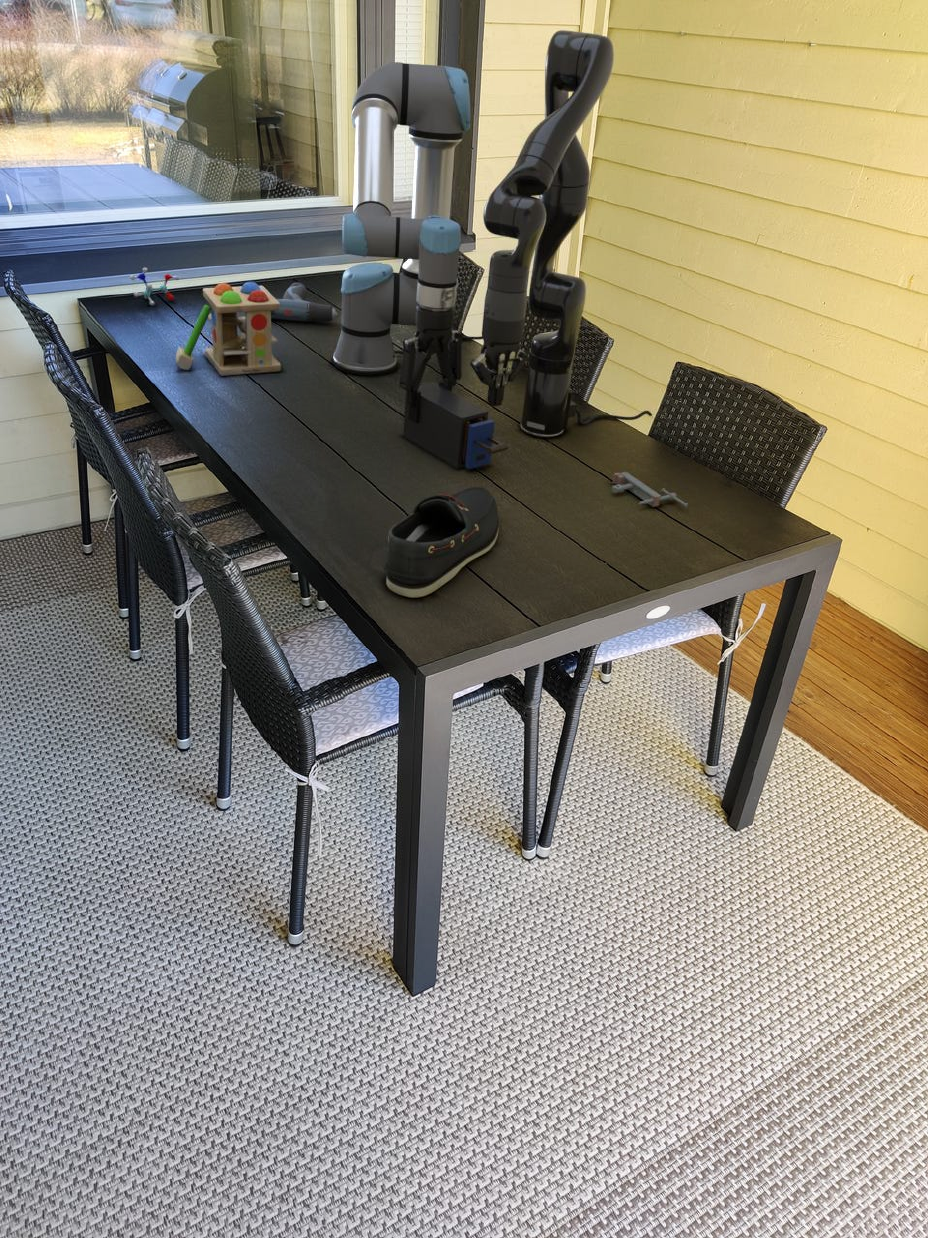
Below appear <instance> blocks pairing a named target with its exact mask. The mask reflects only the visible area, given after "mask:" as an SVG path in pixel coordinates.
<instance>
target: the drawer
mask: <svg viewBox="0 0 928 1238" xmlns="http://www.w3.org/2000/svg"><path fill="white" fill-rule="evenodd" d="M494 432H495V420H493V419H488V420H486V421H483V418H481V417H480V418H476V419H472V420H468V421H465V424H464V435H463V446H462V457H461V461H463V462H465V461H466V462H465V467H464V468H465V469H467V470H472V469H475V468H478V467H483V466H486V465H489V464H491V460H492V459H491V458H492V455H493V454H496V453H501V452H504V451H508V449H509V445H508V443H507V442H501V441H499V440H497V439H495V438H494ZM493 444H494V445H493Z"/></svg>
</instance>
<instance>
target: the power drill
mask: <svg viewBox="0 0 928 1238" xmlns="http://www.w3.org/2000/svg"><path fill="white" fill-rule="evenodd" d="M307 295H308V290H307V287H306V285H304V284H303V283H301V282H293V283H292V284H291V285H290V286H289V287H288V288H287V289H286V291H285V292H284V294H283V297H282V298H275V299H276V300H277V301H278V302H279V303H280V310H271V319H274V320H275V319H276V320H283V321H294V322H295V321H297V322H332V321H333V320H334V319H336V318H337V317H338V312H337V311H336V308H334V307H333V306H332V305H331V304H324V303H317V302H313V301H307V300H305V299H306V297H307Z"/></svg>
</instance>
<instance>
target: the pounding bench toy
mask: <svg viewBox="0 0 928 1238" xmlns="http://www.w3.org/2000/svg"><path fill="white" fill-rule="evenodd" d="M202 296H203V298H204V299H205V300H206V301H207V302H208V304H209V305H208V304H204V305H203V307H202V309H201V312H200V313H199V316H198V318H197V320H196V322H195V324H194V327H193V329H192V331H191V332H190V333H191V334H190V336H189V338H188V340H187V343H186V344H185V347H184V348H182V347H180V346H179V347H178V349H177V351H176V354H175V357H174V358H175V362H176V365H177V366H178V368H179V369H182V370H185V371H189V370H190V369H191V367H192V365H193V363H194V356H193V351H194V348H195V347H196V345H197V342H198V340H199V337H200V336H201V333H202V332H203V329H204V326H205V325H206V322H207V320H209V321H210V322H211V336H212V337H211V338H212V339H211V340H212V348H205V349H204V352H205V353H204V355H205V357H206V359H208V361H209V363H210V364H211V365H212V366H213V367H214V369H215V370H216V371H217V372H218V374H219V375H220V376H222V377H223V376H234V375H235V376H236V375H246V374H247V375H250V374H262V373H275V372H281V370H282V364H281V363H280V362H279V360H278V359H277V358H276V357H275V356H274V355H273V348H272V347H273V345H272V344H276V343H278V342H279V341H278V339H277V338H276V337H275V336H274V334H272V318H271V310H280V303H279V302H278V301H277V300H276V299H277V298H276V297H274V296H273V295H272V294H271V293H270V292H269V290H268V289H267V288H266V287H264V285H259V284H257V283H256V282H255V281H247V282H245V283H244V284H243V285H242V286H232V285H230V284H229V283H226V282H221V283H218V284H217V285H216V286H215V287H204V288H203V289H202ZM238 313H244V314H245V315H244V316H238ZM238 329H239V331H240V333H239V334H238Z"/></svg>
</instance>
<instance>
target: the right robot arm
mask: <svg viewBox="0 0 928 1238" xmlns="http://www.w3.org/2000/svg"><path fill="white" fill-rule="evenodd" d="M546 50H547V51H546V57H545V69H544V119H543V120H541V121H540V122H539V123H538V124H537V125H536V126H535V127H534V128H533V129H532V131H530V133H529V134H528V136H527V138H526V139H525V141H524V143H523V146H522V148H521V150H520V152H519V155H518V156H517V159H516V161H515V164H514V166H513V167H512V168H511V170H509V172H508V173H507V174H506V175H505V177H504V178H503V179H502V180H501V181H500V183H499V184H498V185H497V186H496V187H495V188H494V190H492V192H491V193H490V195H489V197H488V199H486V202H485V205H484V208H483V213H482V217H483V218H482V219H483V224H484V227H485V228H486V230H487V231H488V232H489V233H490V234H492V235H495V236H499V237H504V238H509V239H515V240H518V241H517V245H516V247H515V248H513V249H500V250H497V251H494V252H493V253H492V254H491V256H490V259H489V266H488V267H489V268H488V278H487V287H486V292H485V296H484V303H483V304H484V306H483V315H482V325H481V326H482V327H481V336H482V337H483V339H482V340H483V344H482V346H481V349H480V355H479V356H478V357H477V358H476V359H475V358H471V360H470V361H469V365H470V367H471V369H472V370H473V372H474V373H475V375H476V376H477V378H478V380H479V382H480V383H482V384H484V385H485V386H488V389H487V399H486V400H487V402H488V404H489V405H490V406H492V407H494V408H495V407H498V406H502V404H503V401H504V398H505V390H506V389H505V388H506V387H507V385H508V383H513V382H515V380H516V378H517V377H518V375H519V374H520V372H521V371H522V368H523V367H524V366H525V364H526V362H527V360H528V366H527V375H526V381H525V391H524V397H523V398H524V399H523V407H522V408H523V409H522V414H521V422H520V426H519V427H520V430H521V431H522V432H523V433H525V434H527V435H528V436H532V437H536V438H541V439H551V438H557V437H560V436H562V435H563V433H565V432H567V429H568V424H569V423H568V422H569V418H573V417H576V414H577V423H578V424H579V425H581V426H585V425H587V424H589V423H592V422H593V421H595V420H597V419H601V418H606V419H615V420H621V421H635V420H638V419H640V418H642V417H643V416H644V415H648V416H649V417H653V413H652V412H651V411H649V410H643V411H641V412H640V413H639V414H637V415H634V416H621V415H614V414H602V413H601V414H595V415H594V416H591V417H590V418H589V419H587V420H586V421H582V413H581V411H580V410H579V408H577V407H578V404H577V403H575V402H574V401H572V396H573V389H571V388H570V386H571V379H572V374H573V373H572V372H573V366H574V360H575V352H576V347H577V344H578V343H577V342H578V340H579V334H580V328H581V323H582V318H583V313H584V309H585V303H586V298H587V297H586V296H587V284H586V282H585V280H584V279H583V278H581V277H578V276H574V275H570V274H566V273H560V272H557V271H556V272H555V270H554V266H555V265H554V264H555V259H556V256H557V253H558V251H559V249H560V247H561V245H562V244H563V242H564V241H565V239H566V238H567V237H568V235H569V234H570V233H571V232H572V231H573V229H574V228H575V227H576V226H577V224H578V223H579V222H580V220H581V219H582V217H583V216H584V214H585V213H586V209H587V206H588V199H589V191H590V190H589V189H590V181H591V178H590V177H591V169H590V166H589V161H588V158H587V157H586V153H585V151H584V149H583V146H582V145H581V142H580V139H579V138H578V135H577V133H578V131H579V130H580V128H582V126H583V124H584V123H585V121H586V120H587V118H588V117H589V115H590V113H591V112H592V110H593V109H594V107H595V105H596V104H597V102H598V101H599V99H600V98H601V96H602V94H603V93H604V91H605V89H606V88H607V85H608V83H609V81H610V78H611V75H612V72H613V68H614V61H615V50H614V45H613V43H612V40H611V39H610V38H609V37H608V36H605V35H602V34H599V33H598V34H597V33H590V32H584V31H583V32H582V31H574V30H564V29H562V30H561V29H559V30H556V31H555V33H553V34H552V36H551V38H550V40H549V43H548V46H547V49H546ZM570 93H572V94H571V95H569V94H570ZM537 196H538V197H537ZM532 262H533V263H532ZM531 265H532V269H531ZM530 269H531V276H530ZM529 277H530V282H529ZM528 285H529V290H528ZM528 291H529V292H528ZM527 305H528V309H529V312H530V313H531V315H532V316H534V317H536V318H539V319H542V320H547V321H552V322H556V323H559V325H558V329H557V330H555V331H548V332H547V331H546V332H542V333H538V334H535V335H534V336H533V337H532V339H531V342H530V350H529V354H528V353H526V352H524V351H523V350H522V349H521V342H522V341H523V339H524V332H525V322H526V316H527V315H526V314H527Z"/></svg>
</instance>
